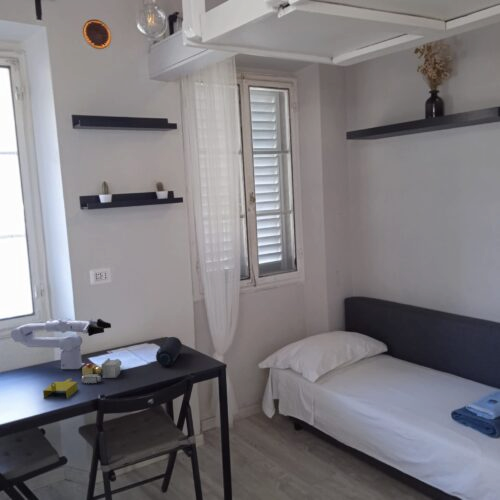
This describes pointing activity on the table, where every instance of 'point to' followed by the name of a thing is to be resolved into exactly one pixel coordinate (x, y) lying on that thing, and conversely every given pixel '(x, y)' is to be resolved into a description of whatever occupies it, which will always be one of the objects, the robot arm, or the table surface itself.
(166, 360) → the portable speaker
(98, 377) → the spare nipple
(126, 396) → the table surface
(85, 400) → the table surface
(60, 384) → the bracket
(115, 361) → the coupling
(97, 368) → the valve
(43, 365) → the table surface
